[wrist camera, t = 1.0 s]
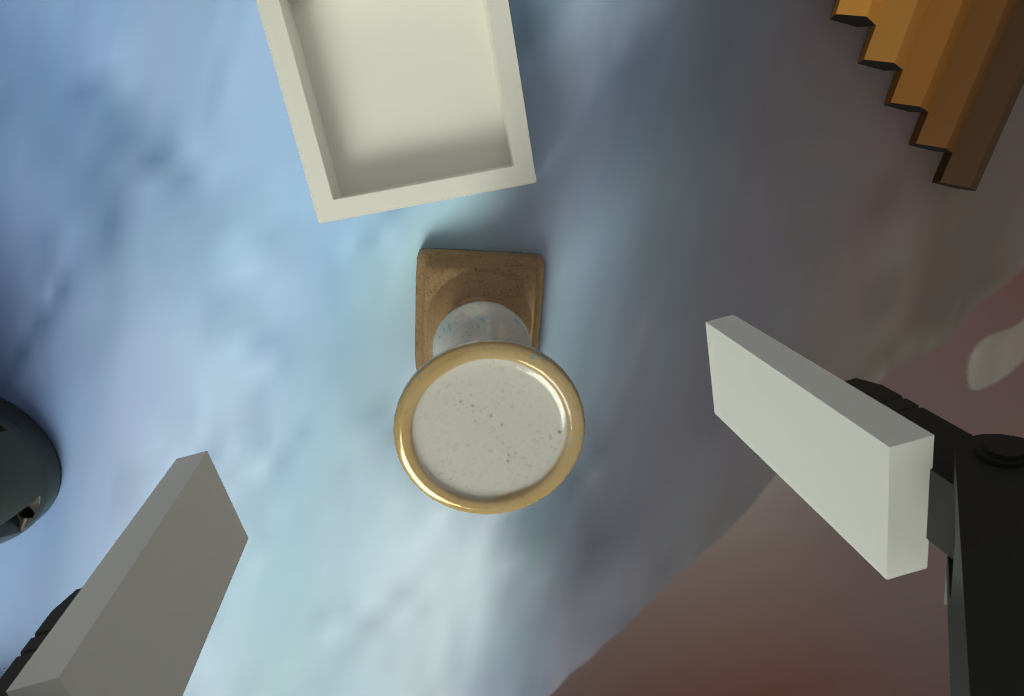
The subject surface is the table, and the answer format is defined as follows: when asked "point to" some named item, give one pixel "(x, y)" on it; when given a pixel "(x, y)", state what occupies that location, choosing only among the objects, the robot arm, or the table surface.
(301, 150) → the rimmed tray
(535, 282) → the candle holder
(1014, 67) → the pan flute
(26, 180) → the table surface
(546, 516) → the table surface
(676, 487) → the table surface
